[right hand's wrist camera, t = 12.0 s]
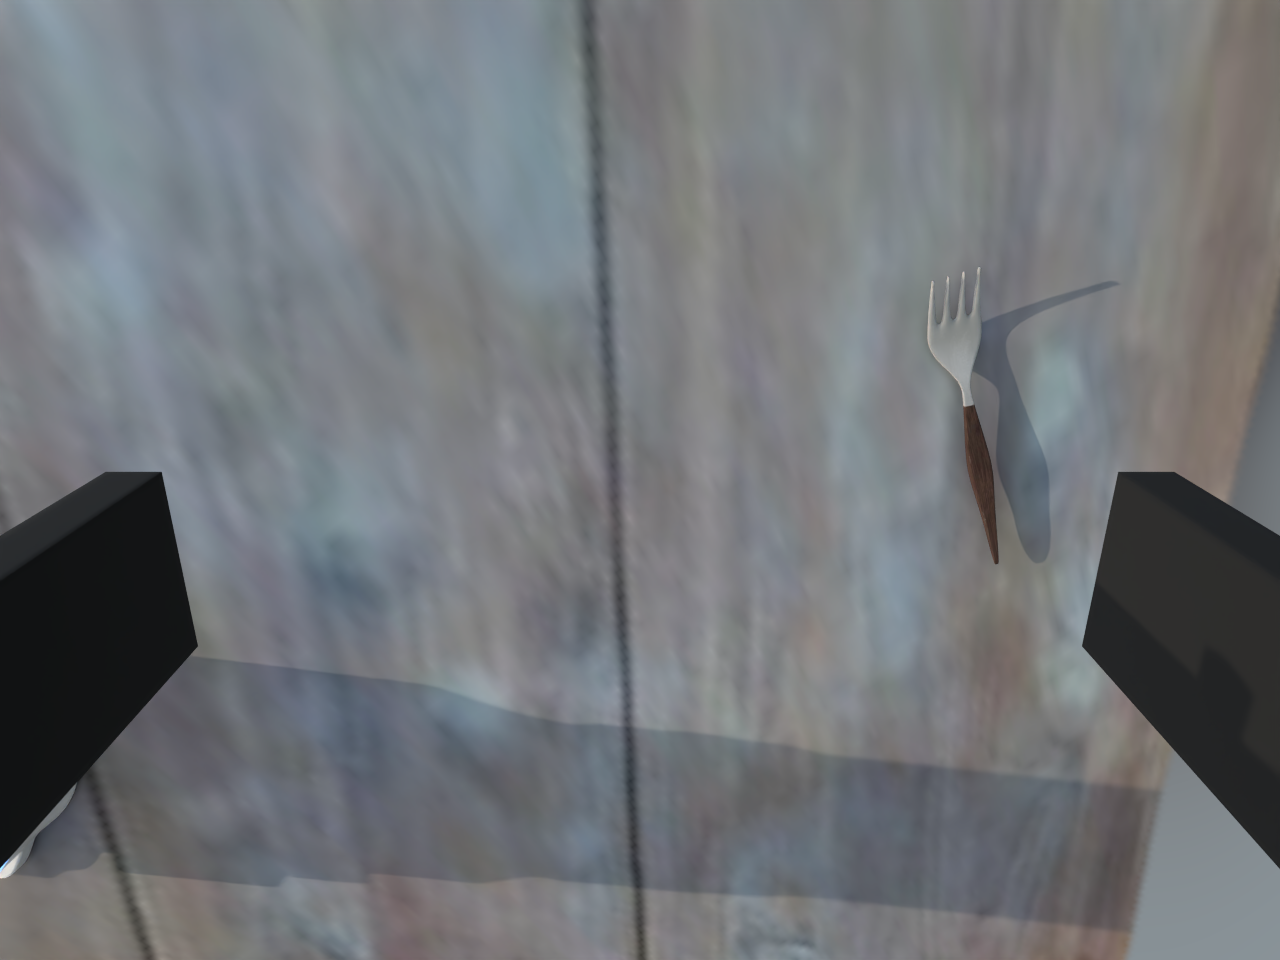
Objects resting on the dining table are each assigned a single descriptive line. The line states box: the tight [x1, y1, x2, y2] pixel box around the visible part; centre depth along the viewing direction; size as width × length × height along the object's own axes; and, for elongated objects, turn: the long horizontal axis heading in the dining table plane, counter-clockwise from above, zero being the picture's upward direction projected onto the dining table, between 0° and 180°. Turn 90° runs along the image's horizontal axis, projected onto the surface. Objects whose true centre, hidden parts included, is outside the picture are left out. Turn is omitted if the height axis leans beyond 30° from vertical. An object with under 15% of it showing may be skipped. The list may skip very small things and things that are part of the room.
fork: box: [927, 267, 999, 564], centre depth 43 cm, size 3×16×2 cm, turn 17°
